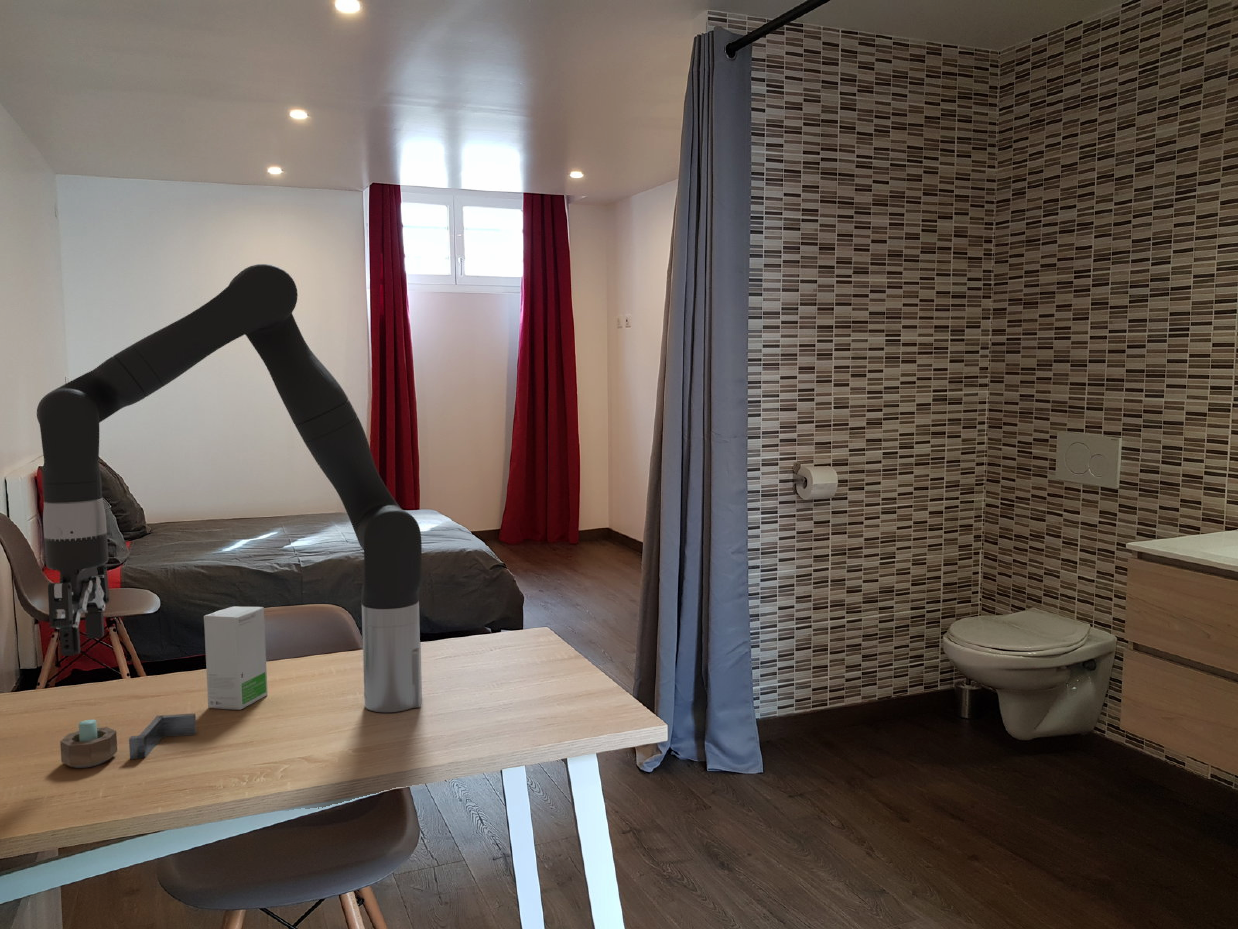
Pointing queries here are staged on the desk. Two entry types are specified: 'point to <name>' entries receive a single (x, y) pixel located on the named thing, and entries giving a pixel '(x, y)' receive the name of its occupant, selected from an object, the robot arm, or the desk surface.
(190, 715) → the bent rail
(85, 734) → the teal flanged peg
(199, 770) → the desk surface
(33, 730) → the desk surface
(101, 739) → the walnut ring
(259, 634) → the skincare box
